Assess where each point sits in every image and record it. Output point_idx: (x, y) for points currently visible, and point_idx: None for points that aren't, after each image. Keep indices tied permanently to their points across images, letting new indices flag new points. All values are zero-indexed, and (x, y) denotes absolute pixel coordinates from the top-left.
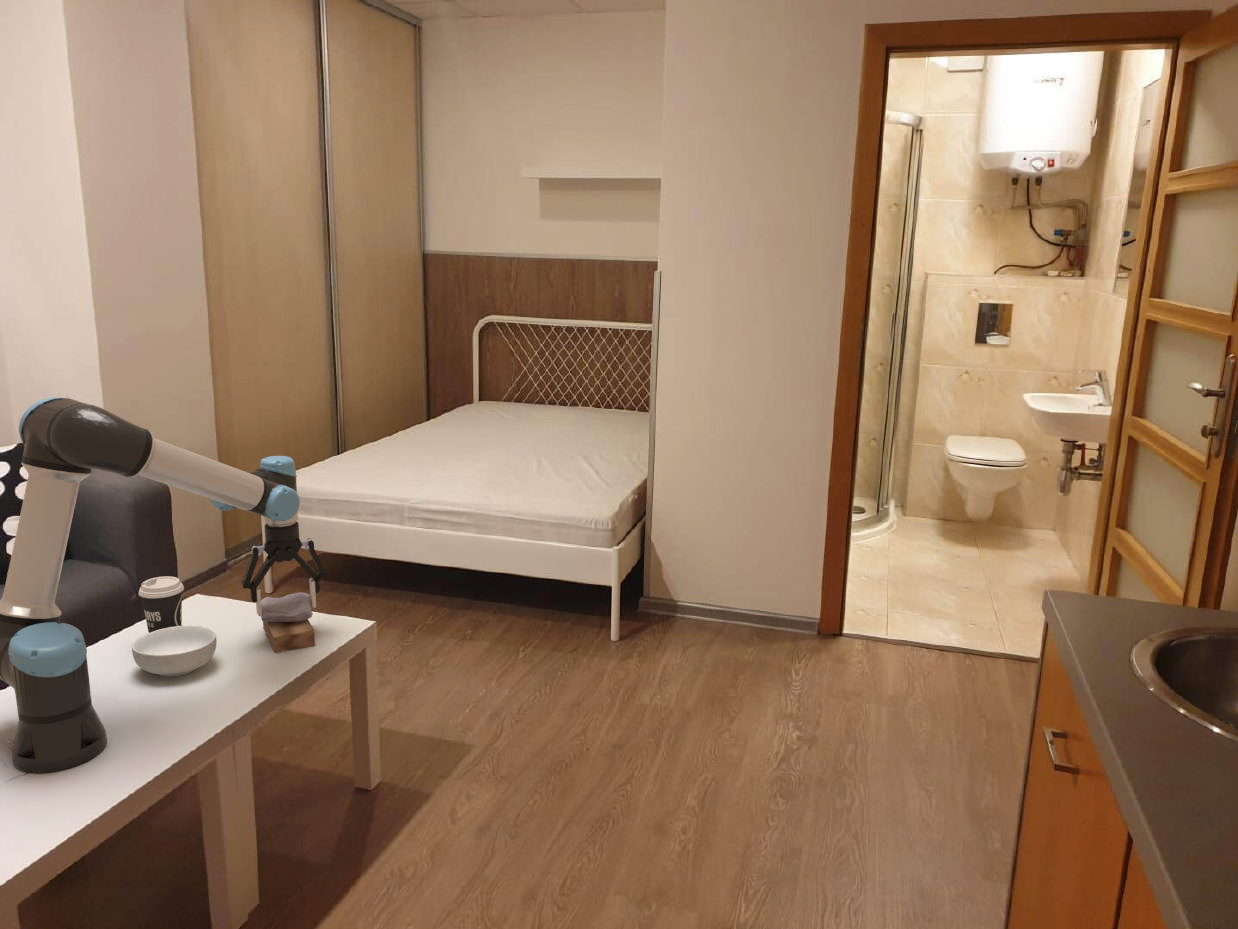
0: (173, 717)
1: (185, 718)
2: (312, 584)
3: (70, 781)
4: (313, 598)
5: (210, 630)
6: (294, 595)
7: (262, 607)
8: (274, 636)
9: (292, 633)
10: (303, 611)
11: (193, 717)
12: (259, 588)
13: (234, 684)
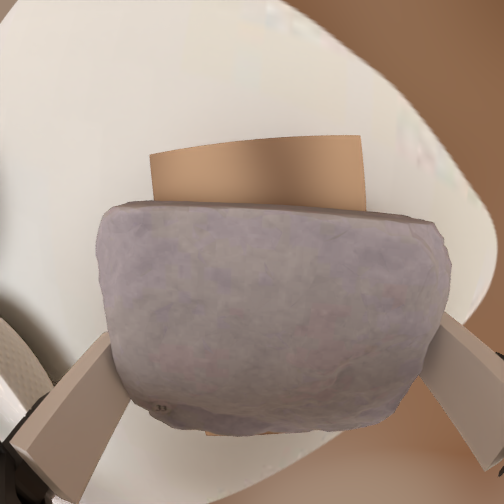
0: (90, 485)
1: (105, 493)
2: (480, 457)
3: (61, 500)
4: (438, 392)
5: (14, 395)
6: (362, 296)
7: (122, 380)
8: (208, 435)
9: (273, 433)
10: (347, 428)
11: (114, 496)
12: (61, 490)
13: (141, 468)
